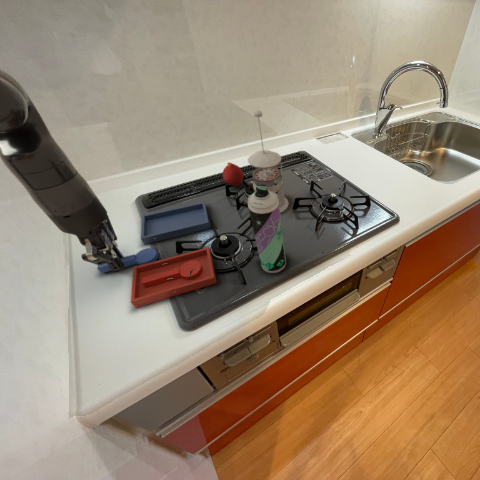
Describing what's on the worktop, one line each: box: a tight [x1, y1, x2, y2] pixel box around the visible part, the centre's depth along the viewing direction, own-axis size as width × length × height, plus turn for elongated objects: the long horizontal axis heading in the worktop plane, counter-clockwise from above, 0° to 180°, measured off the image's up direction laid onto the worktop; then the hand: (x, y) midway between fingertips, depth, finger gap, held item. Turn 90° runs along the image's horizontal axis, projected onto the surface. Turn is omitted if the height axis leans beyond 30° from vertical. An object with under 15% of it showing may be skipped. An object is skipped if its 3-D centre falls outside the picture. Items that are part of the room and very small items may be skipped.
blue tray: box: [140, 201, 212, 246], centre depth 68 cm, size 15×9×2 cm, turn 113°
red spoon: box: [142, 261, 202, 288], centre depth 56 cm, size 11×4×2 cm, turn 113°
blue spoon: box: [96, 247, 159, 274], centre depth 59 cm, size 11×4×2 cm, turn 113°
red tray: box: [130, 247, 218, 309], centre depth 56 cm, size 15×9×2 cm, turn 113°
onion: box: [222, 161, 245, 188], centre depth 79 cm, size 6×6×8 cm
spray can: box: [247, 185, 287, 274], centre depth 53 cm, size 6×6×20 cm
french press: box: [247, 109, 290, 214], centre depth 67 cm, size 10×12×25 cm
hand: (119, 265), depth 59 cm, fingers closed on blue spoon, 1 cm apart
